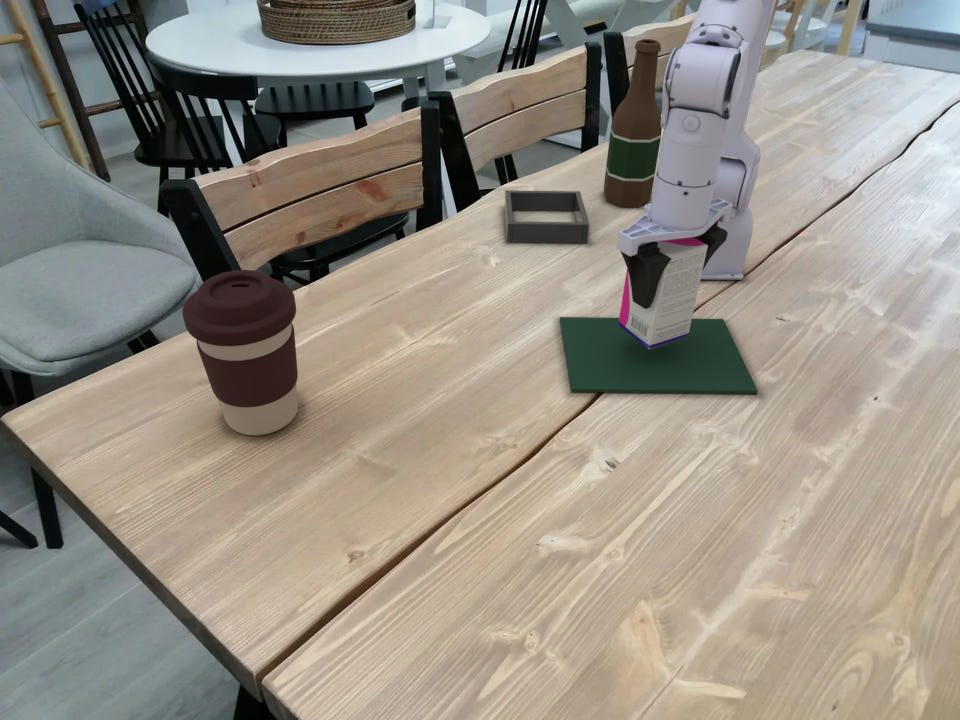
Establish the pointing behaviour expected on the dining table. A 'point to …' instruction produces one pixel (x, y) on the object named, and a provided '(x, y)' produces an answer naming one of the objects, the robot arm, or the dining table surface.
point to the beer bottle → (635, 134)
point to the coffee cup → (247, 347)
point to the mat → (653, 360)
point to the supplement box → (667, 296)
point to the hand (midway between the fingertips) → (663, 295)
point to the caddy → (546, 230)
